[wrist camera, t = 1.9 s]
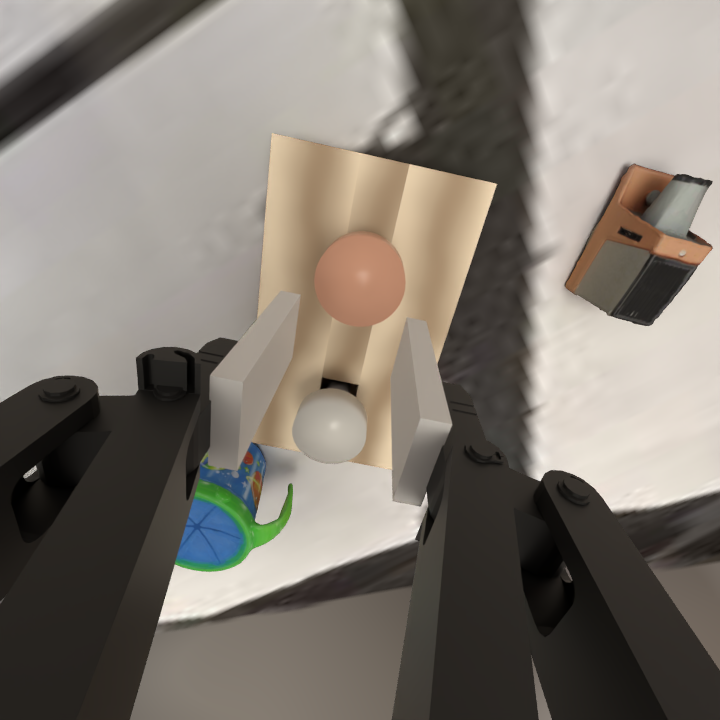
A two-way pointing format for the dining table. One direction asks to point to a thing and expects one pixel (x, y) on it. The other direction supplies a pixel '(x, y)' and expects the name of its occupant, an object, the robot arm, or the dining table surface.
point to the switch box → (350, 214)
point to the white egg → (330, 424)
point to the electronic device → (642, 246)
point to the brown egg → (360, 279)
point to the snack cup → (228, 515)
